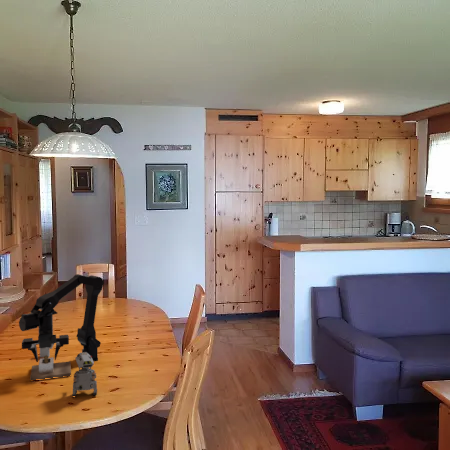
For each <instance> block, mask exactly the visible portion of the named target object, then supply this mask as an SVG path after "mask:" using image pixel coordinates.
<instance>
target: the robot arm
mask: <svg viewBox="0 0 450 450" xmlns="http://www.w3.org/2000/svg"><path fill="white" fill-rule="evenodd" d="M104 283H105V282H104V278H102V277H101V276H97V275H92V274H91V275H89V276H86V275H83V274H75V275H74V276H73V277H71V278H70V279H69V280H67V281H65V282H64V283H62V285H60V286H59V287H57V288H56V289H54V290H53V291H50V292H47V293H44V294H42V295H41V296H38V298H37V299H36V301H35V304H34V306H33V307H32V309H31V310H30V313H23V314H20V315H21V317H20V319H19V321H18V326H19V329H20V331H21V332H26V331H30V330H34V329H37V328H38V336H37V339H34V338H33V337H29V338H23V339H22V340H21V341H22V342H21V350H28V351H31V353H32V354H33V357H34V359H35V361H36V363H39V357H38V349H37V348H39V349H40V348H46V347H47V348H50V347H51V345H52V344H54V345H55V352H54V361H56V360H57V357H58V354H59V351H60V348H63V347H64V346H66V345H69V344H70V339H69V338H70V337H69V335H68V334H59V335H58V337H57V334H54V328H53V327H54V325H53V324H54V323H53V322H54V319H53V318H54V317H53V315H57V314H58V312H57V311H56V310H55V309H54V308H56V306H58V304H59V302H60V301H61V300H62V299H63V298H65V297H66V296H67V295H68V294H70V293H71V292H72V291H73V290H75V289H77V287H80V286H81V285H85V290H86V293H87V295H86V303H85V307H84V308H85V309H84V315H83V316H84V317H83V323H82V326H81V327H80V328H77V334H76V337H75V338H77V339H76V340H77V342H79V344H80V345H81V346H82V348H83V349H81V353H83V352H87V353H88V354H89V355H90V356H92V358H93V361H94V362H95V361H98V360H99V357H98V353H99V352H98V348H100V347H101V344H102V343H101V341H100V340H98V339H97V338H96V337H97V335H96V334H97V333H96V332H97V331H96V328H95V319H96V312H97V306H98V297H99V295H100V293H101V292H102V291H103V287H104ZM33 339H34V340H33ZM37 345H38V347H37Z"/></svg>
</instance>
